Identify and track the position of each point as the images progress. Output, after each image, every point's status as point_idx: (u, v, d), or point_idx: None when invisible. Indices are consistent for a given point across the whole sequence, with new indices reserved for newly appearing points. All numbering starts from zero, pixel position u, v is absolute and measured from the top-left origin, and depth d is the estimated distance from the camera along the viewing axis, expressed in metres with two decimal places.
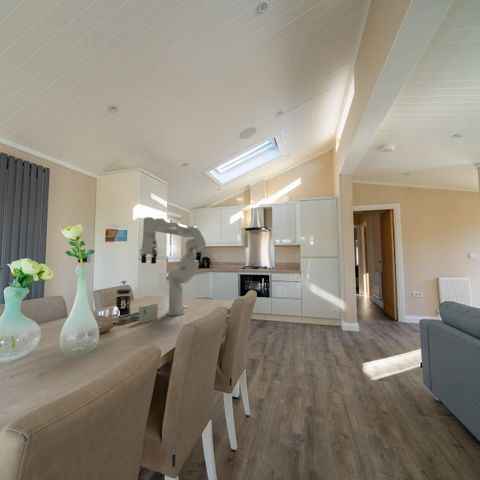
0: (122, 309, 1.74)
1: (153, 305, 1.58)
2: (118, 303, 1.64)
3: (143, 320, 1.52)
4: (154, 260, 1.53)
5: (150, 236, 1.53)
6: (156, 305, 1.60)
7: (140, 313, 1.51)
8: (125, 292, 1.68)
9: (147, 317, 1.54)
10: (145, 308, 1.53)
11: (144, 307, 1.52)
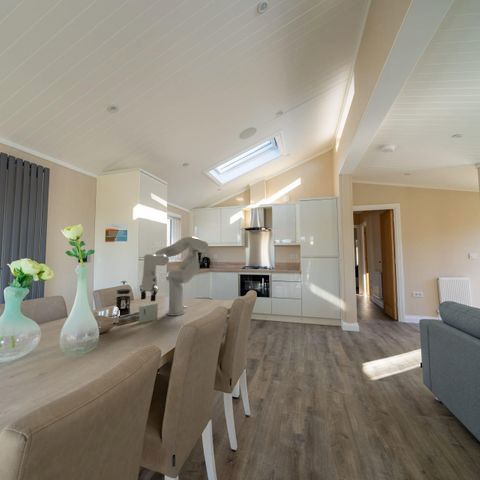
0: (122, 309, 1.74)
1: (153, 305, 1.58)
2: (118, 303, 1.64)
3: (143, 320, 1.52)
4: (154, 298, 1.53)
5: (150, 273, 1.54)
6: (156, 305, 1.60)
7: (140, 313, 1.51)
8: (125, 292, 1.68)
9: (147, 317, 1.54)
10: (145, 308, 1.53)
11: (144, 307, 1.52)
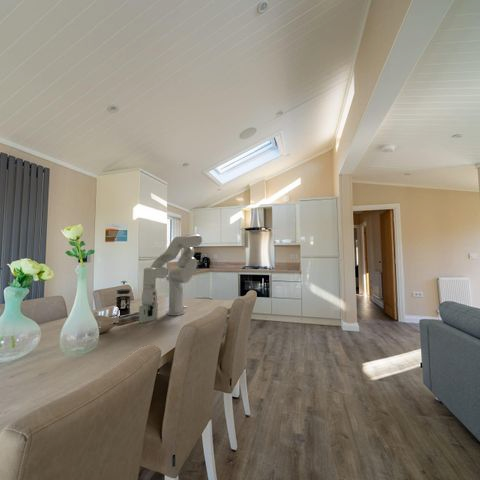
0: (122, 309, 1.74)
1: None
2: (118, 303, 1.64)
3: (143, 320, 1.52)
4: (151, 313, 1.55)
5: (150, 287, 1.54)
6: (156, 305, 1.60)
7: (140, 313, 1.51)
8: (125, 292, 1.68)
9: (147, 316, 1.54)
10: (145, 308, 1.53)
11: (144, 307, 1.52)
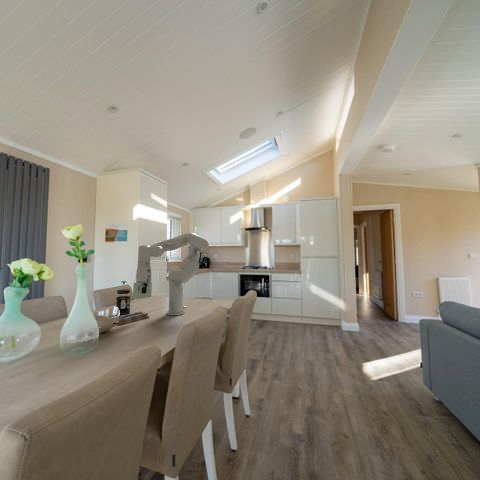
0: (122, 309, 1.74)
1: None
2: (118, 303, 1.64)
3: (137, 297, 1.52)
4: (145, 290, 1.55)
5: (145, 264, 1.55)
6: (150, 283, 1.61)
7: (134, 289, 1.52)
8: (125, 292, 1.68)
9: (141, 294, 1.55)
10: (139, 285, 1.53)
11: (138, 284, 1.53)
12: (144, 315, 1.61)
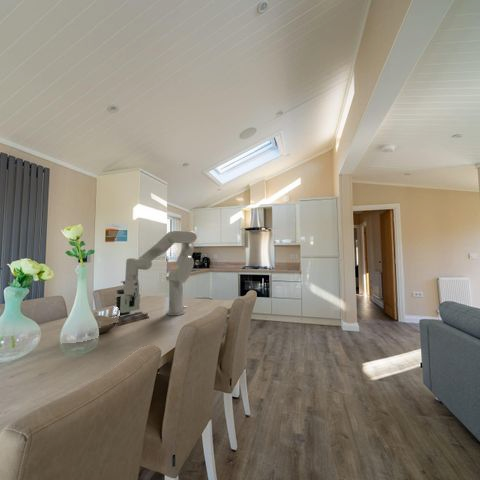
0: None
1: None
2: (118, 303, 1.64)
3: (124, 310, 1.52)
4: (132, 303, 1.55)
5: (132, 278, 1.55)
6: (138, 296, 1.61)
7: (121, 303, 1.52)
8: None
9: (128, 307, 1.54)
10: (126, 298, 1.53)
11: (125, 297, 1.53)
12: (144, 315, 1.61)
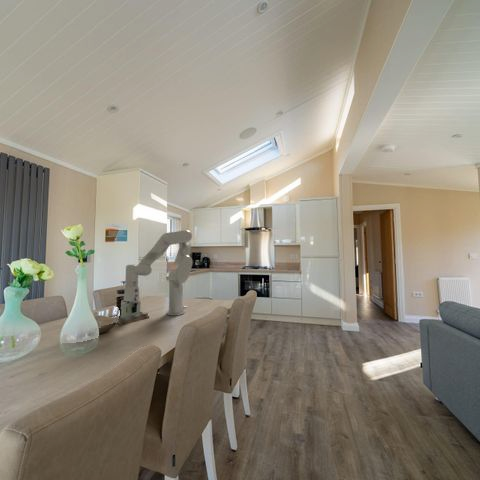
0: None
1: None
2: (118, 303, 1.64)
3: None
4: (134, 309, 1.54)
5: (132, 284, 1.54)
6: (139, 303, 1.61)
7: (122, 311, 1.52)
8: None
9: (129, 314, 1.55)
10: (127, 306, 1.54)
11: (126, 305, 1.53)
12: (144, 315, 1.61)
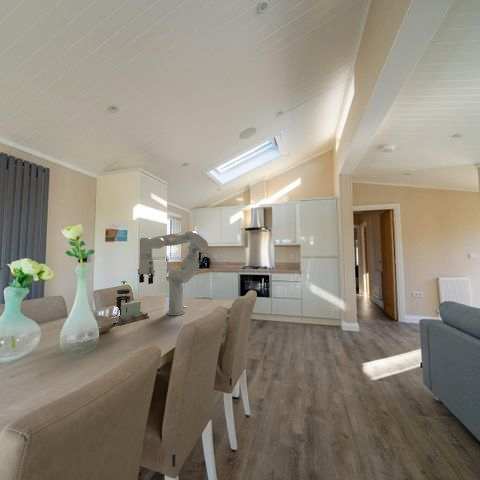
0: None
1: (136, 303, 1.59)
2: (118, 303, 1.64)
3: None
4: (151, 280, 1.54)
5: (146, 257, 1.54)
6: (139, 303, 1.61)
7: (122, 311, 1.52)
8: (125, 292, 1.68)
9: (129, 314, 1.55)
10: (127, 306, 1.54)
11: (126, 305, 1.53)
12: (144, 315, 1.61)
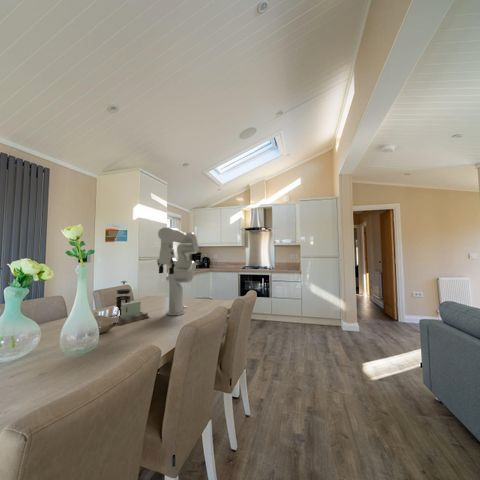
0: None
1: (136, 303, 1.59)
2: (118, 303, 1.64)
3: None
4: (172, 271, 1.52)
5: (168, 246, 1.53)
6: (139, 303, 1.61)
7: (122, 311, 1.52)
8: (125, 292, 1.68)
9: (129, 314, 1.55)
10: (127, 306, 1.54)
11: (126, 305, 1.53)
12: (144, 315, 1.61)
